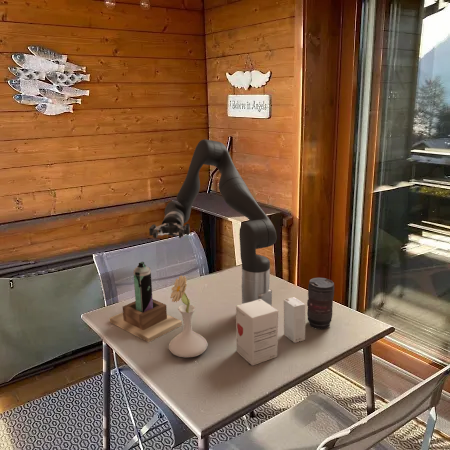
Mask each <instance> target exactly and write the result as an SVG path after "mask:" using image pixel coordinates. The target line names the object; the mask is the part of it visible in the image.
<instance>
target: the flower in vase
mask: <svg viewBox="0 0 450 450" xmlns="http://www.w3.org/2000/svg"><path fill="white" fill-rule="evenodd" d="M187 283H188V281H187V277H186V276H185V275H184V276H183V275H179V277H178V278H176V279H175V282H174V286H172V287H171V291H172V292H171V293H170V299H171V302H173V303H177V302H179V301H181V302H182V303H183V304H182V305H180V306H178V308H177V310H178V312H179V313H180V314H181V317H182V324H183V328H182V331H181V332H180V333H178V334H177V335H175V336H174V337H173V338H172V339H171V340H170V341H169V344H168V350H169V351H170V352H171V353H172V355H174V356H176V357H180V358H193V357H194V358H195V357H197V356H199V355H201V354H203V353H205V351H206V350H207V348H208V342H207V339H206V338H205V337H203V336H202V335H201V334H200V333H198V332H195V331H194V330H193V328H192V318H193V313H194V312H195V310H196V306H195V305H193V304H191V300H190V298H188V295H187V294H186V292H185V291H186V289H187V286H188V284H187Z"/></svg>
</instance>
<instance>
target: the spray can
mask: <svg viewBox="0 0 450 450" xmlns="http://www.w3.org/2000/svg"><path fill="white" fill-rule="evenodd" d="M151 271H152V270H151V267H149V266H147V265H146V264H145V262H144V261H140V262H139V263H138V265H137V266H136V267H135V268H134V269H133V284H134V285H133V286H134V298H135V299H134V300H135V301H136V310H138V311H140V312H142V313H144V312H146V311H148V310H150V309H152V308H153V299H154V297H153V288H152V287H153V285H152V283H153V282H152V272H151Z"/></svg>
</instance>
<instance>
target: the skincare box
mask: <svg viewBox="0 0 450 450" xmlns="http://www.w3.org/2000/svg"><path fill="white" fill-rule="evenodd" d="M283 335H284V336H285V337H287V338H288V339H289V340H290V341H292V343H294V344H295V343H299V341H300V342H302V341H305V340H306V304H305V303H304V302H303V301H301V300H300V299H298V298H296V297H295V296H293V297H288V298H286V299H285V298H284V299H283Z"/></svg>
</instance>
